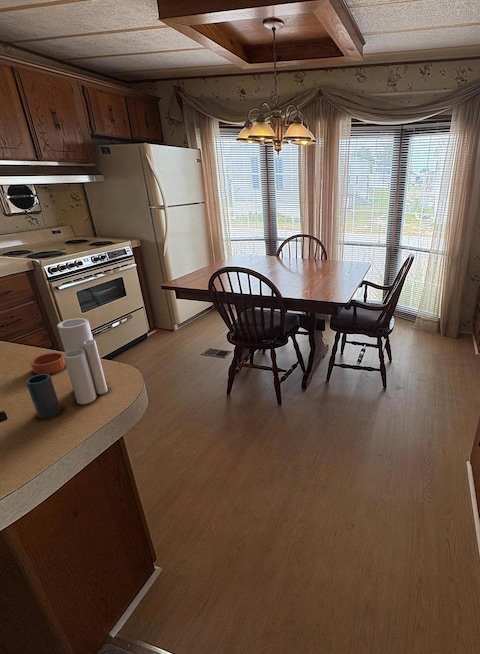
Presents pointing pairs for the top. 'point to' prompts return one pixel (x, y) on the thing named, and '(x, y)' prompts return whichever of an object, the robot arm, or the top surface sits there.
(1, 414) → the robot arm
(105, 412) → the top surface
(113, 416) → the top surface
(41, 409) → the cup
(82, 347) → the vase
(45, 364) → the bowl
